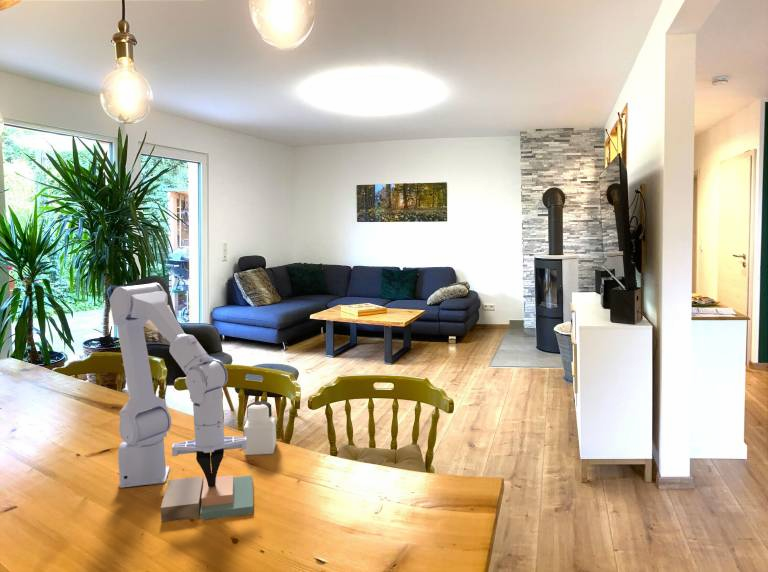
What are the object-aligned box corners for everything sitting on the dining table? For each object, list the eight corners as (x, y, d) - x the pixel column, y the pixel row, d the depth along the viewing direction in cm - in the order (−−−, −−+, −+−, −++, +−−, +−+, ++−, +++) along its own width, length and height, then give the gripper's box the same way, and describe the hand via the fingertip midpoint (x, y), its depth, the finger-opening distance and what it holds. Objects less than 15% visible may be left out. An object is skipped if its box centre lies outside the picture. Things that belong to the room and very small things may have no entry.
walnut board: (161, 522, 110) (160, 507, 110) (169, 493, 122) (168, 480, 121) (199, 517, 112) (198, 503, 111) (203, 489, 123) (203, 476, 123)
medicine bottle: (248, 444, 148) (246, 399, 146) (276, 443, 148) (274, 398, 147) (244, 455, 141) (242, 408, 139) (273, 454, 141) (271, 407, 140)
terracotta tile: (201, 506, 113) (201, 498, 113) (204, 486, 122) (204, 478, 121) (233, 502, 114) (232, 494, 114) (233, 482, 123) (233, 474, 123)
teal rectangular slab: (200, 520, 111) (200, 512, 111) (205, 487, 124) (205, 480, 124) (253, 513, 113) (253, 506, 113) (252, 481, 127) (252, 475, 126)
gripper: (168, 431, 110) (172, 498, 112) (245, 424, 114) (248, 489, 115) (173, 419, 117) (176, 481, 119) (245, 412, 120) (248, 474, 122)
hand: (211, 484), depth 118 cm, fingers closed
